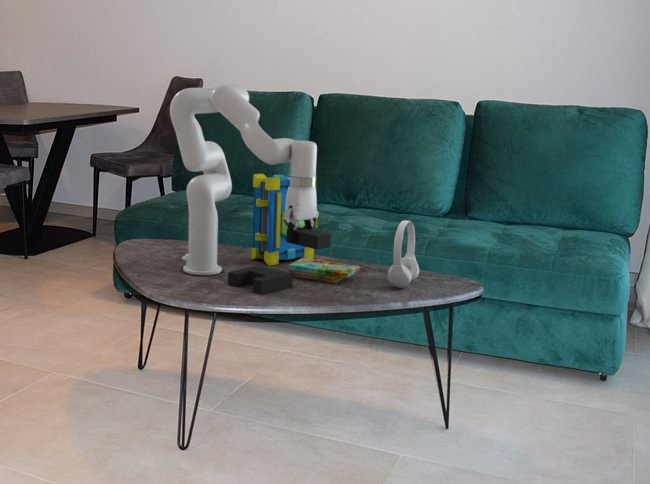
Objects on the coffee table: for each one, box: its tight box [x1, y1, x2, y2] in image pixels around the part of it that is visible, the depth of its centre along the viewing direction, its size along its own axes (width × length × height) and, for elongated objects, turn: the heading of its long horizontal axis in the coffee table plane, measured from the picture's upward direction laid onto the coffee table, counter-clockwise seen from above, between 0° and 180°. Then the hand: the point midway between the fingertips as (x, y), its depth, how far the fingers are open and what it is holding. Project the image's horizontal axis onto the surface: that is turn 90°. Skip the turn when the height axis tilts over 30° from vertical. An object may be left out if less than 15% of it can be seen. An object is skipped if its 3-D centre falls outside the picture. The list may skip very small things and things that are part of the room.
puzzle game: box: [287, 257, 361, 284], centre depth 262 cm, size 12×5×20 cm
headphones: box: [386, 220, 420, 289], centre depth 254 cm, size 7×18×20 cm, turn 151°
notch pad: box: [227, 264, 294, 295], centre depth 251 cm, size 14×14×4 cm
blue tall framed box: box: [250, 171, 320, 267], centre depth 285 cm, size 14×23×30 cm, turn 122°
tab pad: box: [286, 227, 332, 251], centre depth 244 cm, size 12×6×4 cm, turn 42°
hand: (300, 240), depth 247 cm, fingers closed on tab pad, 6 cm apart
